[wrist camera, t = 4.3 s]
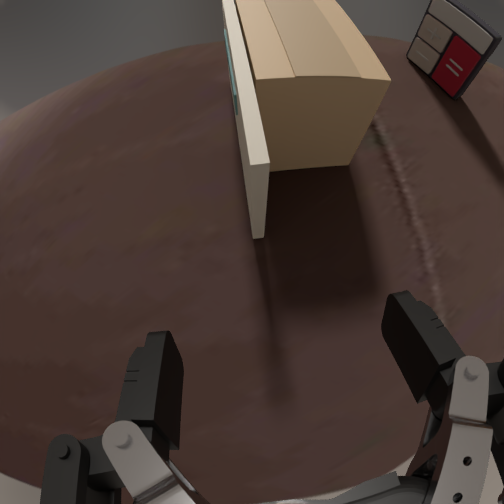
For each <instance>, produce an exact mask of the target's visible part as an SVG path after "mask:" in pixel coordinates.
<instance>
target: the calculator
mask: <svg viewBox="0 0 504 504" xmlns="http://www.w3.org/2000/svg"><path fill="white" fill-rule="evenodd" d="M501 40H502V37H501V35H499V33H497V32H496V31H495V30H494V29H493V28H492V27H490V26H489V25H488V24H487V23H486V22H485V21H483V20H482V19H481V18H480V17H478V16H477V15H476V14H475V13H473V12H472V11H471V10H469V9H468V8H467V7H465V6H464V5H463V4H461V3H460V2H458V1H457V0H431V1H430V3H429V5H428V8H427V10H426V12H425V15H424V17H423V20H422V21H421V24H420V26H419V28H418V30H417V33H416V35H415V37H414V39H413V41H412V44H411V46H410V48H409V50H408V52H407V54H406V56H407V58H408V59H410V60H411V61H412V62H413V63H414V64H416V65H417V66H418V67H419V68H420V69H422V70H423V71H424V72H425V73H426V74H427V75H428V76H429V77H431V78H432V79H433V80H434V81H435V82H436V83H437V84H438V85H439V86H440V87H441V88H442V89H443V90H445V91H446V92H447V93H448V94H449V95H450V96H451V97H452V98H453V99H454V100H455V99H457V98H459V97H460V96H462V95H463V93H464V92H465V90H466V89H467V88H468V86H469V85H470V84H471V82H472V81H473V79H474V78H475V77H476V75H477V74H478V72H479V71H480V70H481V68H482V67H483V65H484V64H485V62H486V61H487V59H488V58H489V57H490V55H491V54H492V53H493V52H494V50H495V49H496V47H497V46H498V44H499V43H500V41H501Z"/></svg>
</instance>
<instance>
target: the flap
mask: <svg viewBox="0 0 504 504" xmlns="http://www.w3.org/2000/svg"><path fill="white" fill-rule="evenodd" d="M222 6H223V17H224V26H225V29H224V35H225V45H226V52H227V59H228V67H229V77H230V85H231V92H232V98H233V105H234V112H235V119H236V125H237V132H238V139H239V146H240V153H241V160H242V167H243V173H244V180H245V187H246V194H247V201H248V208H249V215H250V222H251V229H252V236H253V239H257V238H264V230H265V218H266V206H267V193H268V181H269V168H270V161H269V156H268V151H267V146H266V141H265V136H264V131H263V126H262V121H261V117H260V112H259V107H258V102H257V98H256V93H255V89H254V84H253V80H252V75H251V71H250V67H249V62H248V58H247V54H246V49H245V45H244V41H243V37H242V33H241V29H240V24H239V20H238V16H237V12H236V8H235V5H234V1H233V0H222Z"/></svg>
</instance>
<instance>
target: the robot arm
mask: <svg viewBox="0 0 504 504" xmlns="http://www.w3.org/2000/svg"><path fill="white" fill-rule="evenodd" d="M381 329H382V335H383V338H384V340H385V342H386V343H387V345H388V347H389V349H390V351H391V353H392V355H393V356H394V358H395V360H396V362H397V364H398V366H399V368H400V370H401V372H402V374H403V376H404V378H405V380H406V382H407V384H408V386H409V388H410V390H411V392H412V394H413V396H414V398H415V400H416V402H417V403H420V402H422V401H425V400H428V402H429V404H430V407H429V410H428V415H427V419H426V423H425V426H424V430H423V434H422V437H421V441H420V444H419V447H418V450H417V453H416V455H415V456H414V458H413V460H412V461H411V463H410V465H409V468H408V470H407V473H406V476H397V473H396V471H394V472H392V473H389V474H386V475H383V476H380V477H378V478H375V479H372V480H369V481H365V482H363V483H361V484H360V485H358V486H356V487H354V488H352V489H351V490H349V491H347V492H345V493H343V494H341V495H339V496H337V497H335V498H333V499H329V500H301V499H290V500H283V501H276V502H268V503H260V504H479V500H480V497H481V493H482V489H483V485H484V481H485V476H486V472H487V467H488V461H489V456H490V450H491V452H492V454H493V457H494V459H495V462H496V465H497V468H498V470H499V473H500V476H501V479H502V482H503V485H504V359H503V361H502V362H496V363H488V364H485V363H484V362H483V361H482V360H481V359H479V358H477V357H474V356H466V355H465V354H464V353H463V351H462V350H461V348H460V347H459V346H458V344H457V343H456V341H455V340H454V338H453V337H452V336H451V334H450V333H449V331H448V330H447V329H446V327H444V324H443V323H442V322H441V320H440V319H438V316H437V315H436V314H435V312H434V311H433V310H432V308H431V307H429V306H428V305H426V304H425V303H423V302H422V301H416V300H415V298H414V297H413V296H412V294H411V293H410V292H409V291H407V290H406V291H402V292H397V293H393V294H389V295H388V297H387V301H386V306H385V310H384V315H383V319H382V324H381ZM126 371H127V373H126V374H125V378H124V383H123V387H122V392H121V396H120V401H119V406H118V411H117V416H116V420H115V422H114V423H113V424H111V425H110V426H109V427H108V428H107V429H106V430H105V432H104V434H103V435H101V436H98V437H94V438H89V439H85V440H80V441H78V440H77V439H76V438H75V437H73V436H72V435H69V434H62V435H59V436H57V437H55V438H54V439H53V440H52V441H51V443H50V445H49V448H48V452H47V458H46V463H45V469H44V476H43V483H42V490H41V499H40V504H121V488H122V487H126V488H127V489H128V491H129V492H130V494H131V495H132V497H133V499H134V502H133V504H210V503H209V502H208V501H207V500H206V499H205V498H204V497H203V496H202V495H201V494H200V493H199V492H198V491H197V490H196V489H195V488H194V487H193V485H192V484H191V483H190V482H189V481H188V480H187V479H186V477H185V476H184V475H183V474H182V473H181V471H180V470H179V469H178V468H177V467H176V465H175V464H174V463H173V462H172V460H171V459H170V458H169V450H179V442H180V421H181V404H182V389H183V376H184V368H183V362H182V358H181V355H180V353H179V351H178V349H177V346H176V344H175V342H174V339H173V337H172V334H171V333H170V331H158V332H149V333H148V334H147V338H146V342H145V346H144V347H137V348H136V350H135V351H134V353H133V354H132V355H131V357H130V358H129V362H128V366H127V370H126ZM498 503H499V504H504V488H503V491H502V494H500V495H499V497H498Z"/></svg>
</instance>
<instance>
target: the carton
mask: <svg viewBox="0 0 504 504" xmlns="http://www.w3.org/2000/svg"><path fill="white" fill-rule="evenodd" d="M235 2H236V12H237V16H238V20H239V24H240V29H241V33H242V37H243V41H244V45H245V49H246V54H247V58H248V62H249V67H250V71H251V75H252V80H253V84H254V89H255V93H256V98H257V102H258V107H259V112H260V117H261V121H262V126H263V131H264V136H265V141H266V146H267V151H268V156H269V161H270V168H269V172H272V171H282V170H292V169H302V168H314V167H327V166H342V165H349V164H350V162H351V160H352V158H353V156H354V154H355V152H356V150H357V148H358V146H359V145H360V143H361V141H362V139H363V137H364V135H365V133H366V131H367V129H368V127H369V125H370V123H371V121H372V119H373V117H374V115H375V113H376V111H377V109H378V107H379V105H380V103H381V101H382V99H383V97H384V95H385V93H386V91H387V89H388V87H389V85H390V83H391V79H390V77H389V76H388V74H387V72H386V71H385V69H384V67H383V66H382V64H381V63H380V61H379V59H378V58H377V56H376V55H375V53H374V52H373V50H372V49H371V47H370V46H369V44H368V43H367V41H366V40H365V39H364V37H363V36H362V34H361V33H360V32H359V30H358V29H357V27H356V26H355V25H354V23H353V22H352V21H351V19H350V18H349V17H348V16H347V15H346V13H345V12H344V11H343V9H342V8H341V7H340V6H339V5H338V3H337V2H336V1H335V0H235Z"/></svg>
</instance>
